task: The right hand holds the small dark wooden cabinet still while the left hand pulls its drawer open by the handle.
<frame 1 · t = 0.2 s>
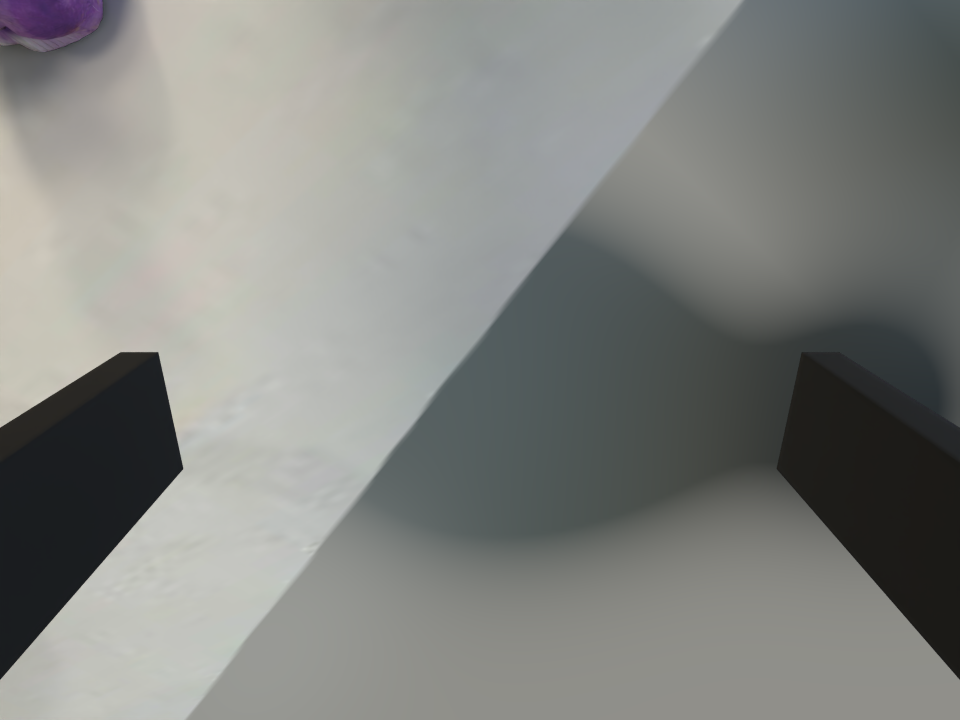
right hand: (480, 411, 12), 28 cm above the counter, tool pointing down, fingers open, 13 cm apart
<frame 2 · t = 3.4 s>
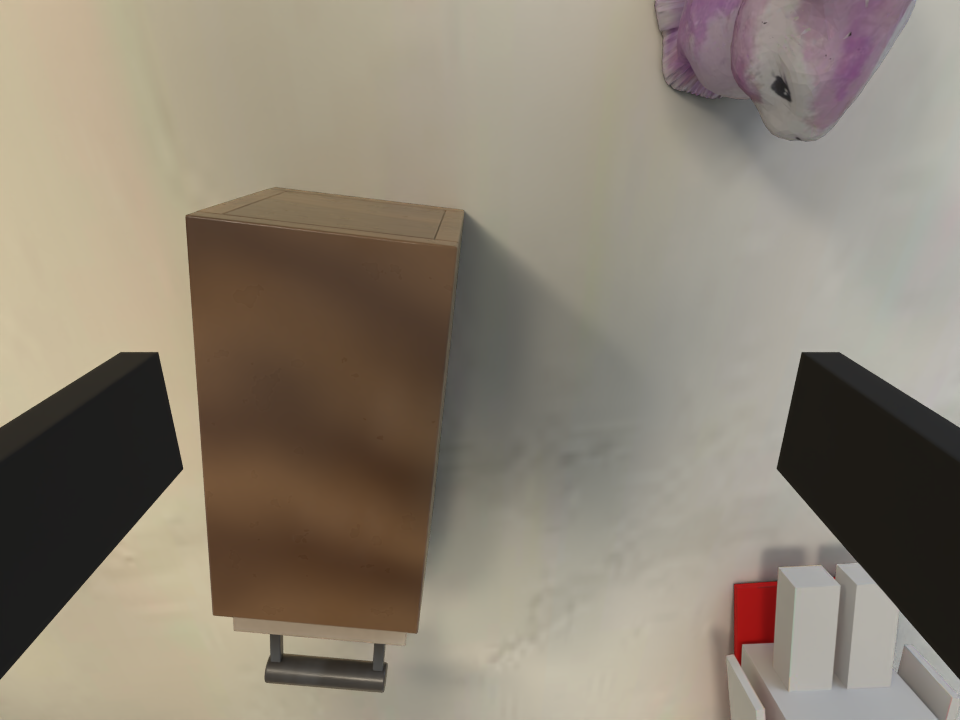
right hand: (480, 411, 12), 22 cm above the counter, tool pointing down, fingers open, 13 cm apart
toy: (776, 689, 46), on the counter
figurine: (735, 2, 28), on the counter
cabinet: (361, 367, 36), on the counter
drawer: (340, 493, 33), point 5 cm above the counter, slide at 0.8 cm
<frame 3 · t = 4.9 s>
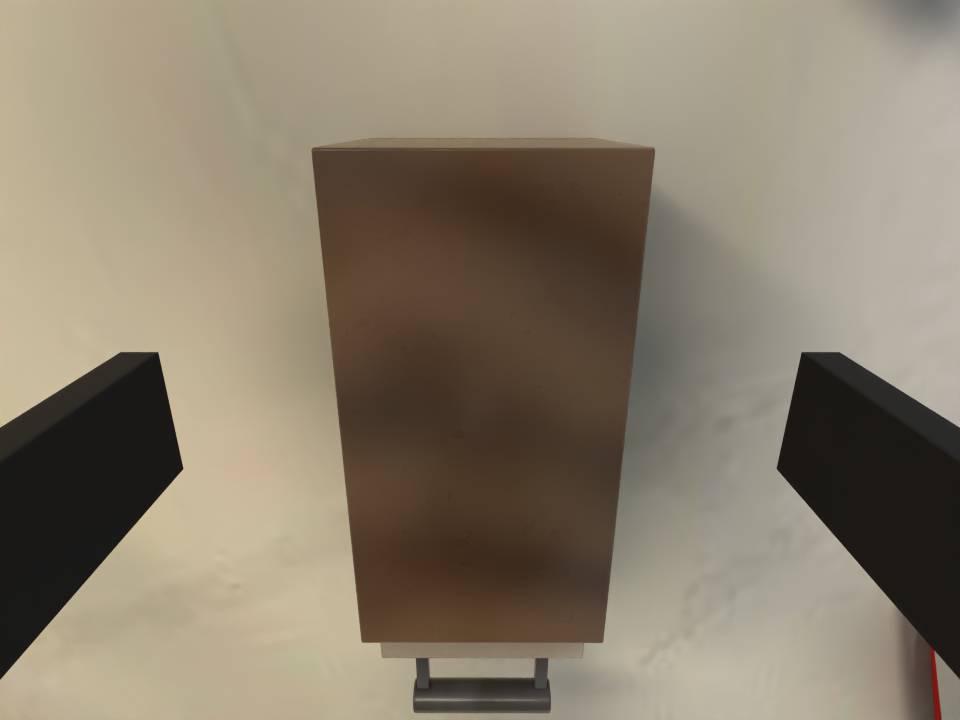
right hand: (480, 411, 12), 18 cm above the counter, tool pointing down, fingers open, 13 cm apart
cabinet: (482, 341, 31), on the counter
drawer: (482, 486, 28), point 5 cm above the counter, slide at 0.8 cm
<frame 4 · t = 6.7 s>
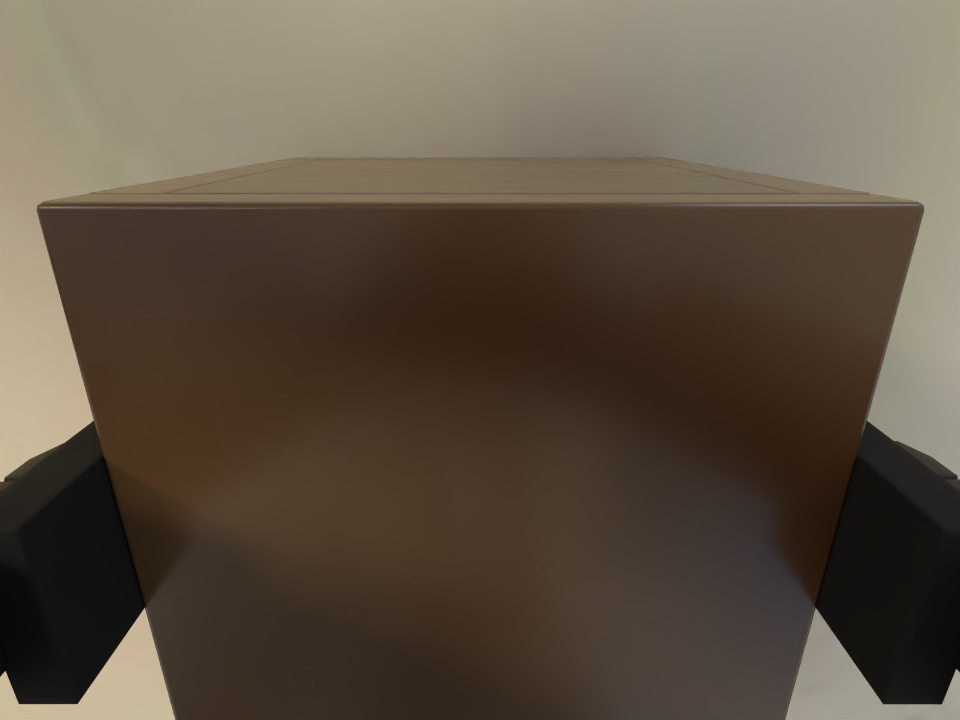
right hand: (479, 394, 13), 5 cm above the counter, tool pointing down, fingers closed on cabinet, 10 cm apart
cabinet: (479, 467, 20), on the counter, touching right hand
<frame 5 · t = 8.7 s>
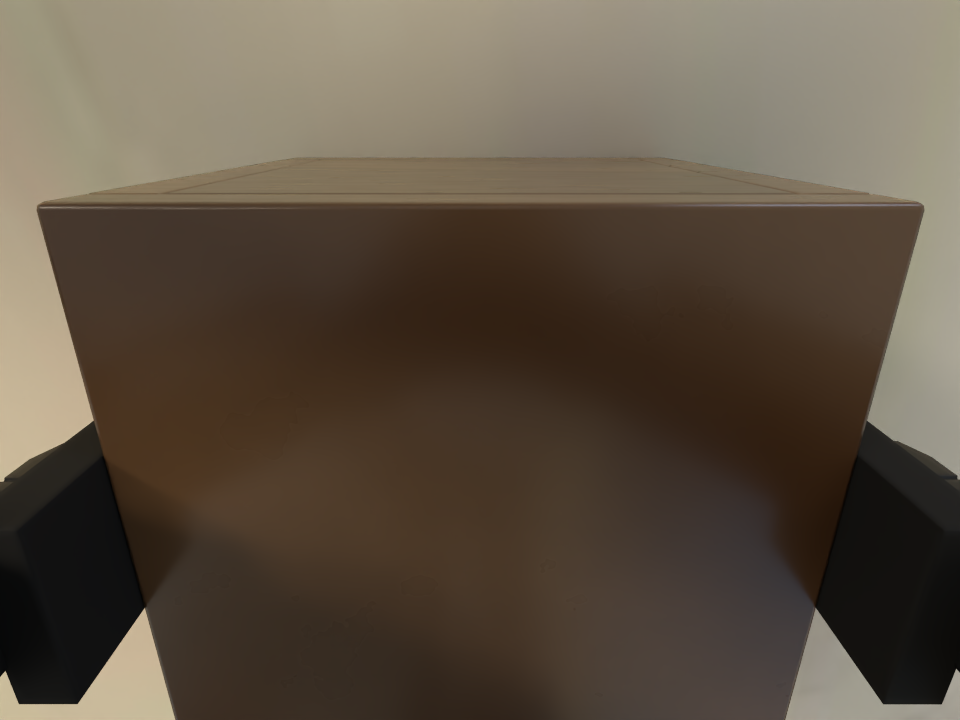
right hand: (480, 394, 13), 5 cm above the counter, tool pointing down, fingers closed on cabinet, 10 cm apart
cabinet: (479, 467, 20), on the counter, touching right hand
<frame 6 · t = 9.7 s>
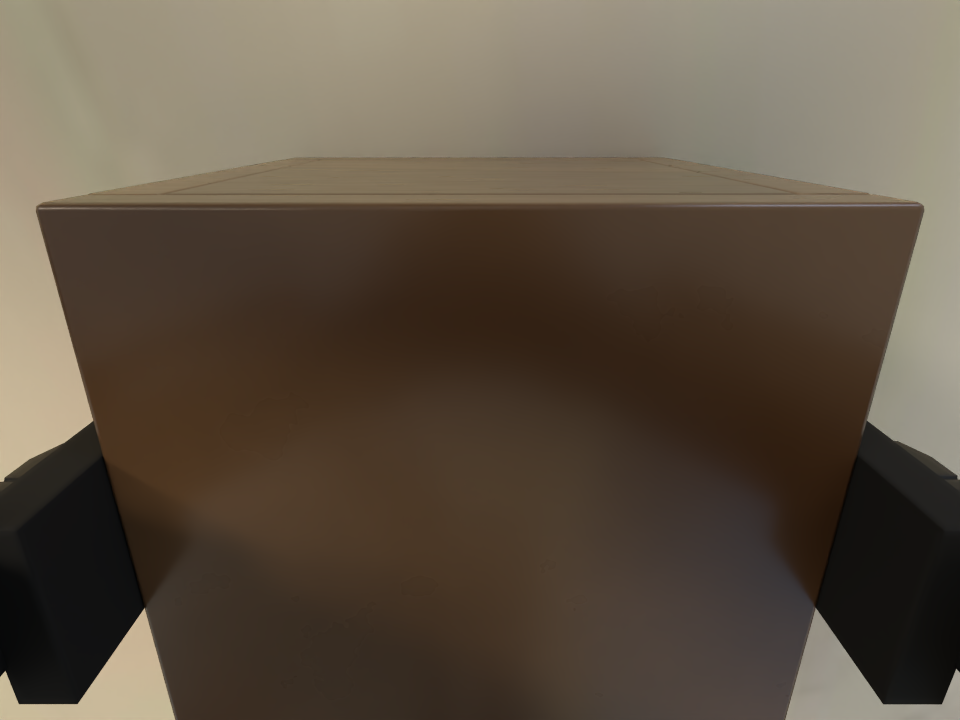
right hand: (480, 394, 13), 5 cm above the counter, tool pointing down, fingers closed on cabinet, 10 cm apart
cabinet: (479, 467, 20), on the counter, touching right hand
when the right hand's fingers open (5 cm above the counter, at t = 11.3 s): cabinet stays where it is, on the counter.
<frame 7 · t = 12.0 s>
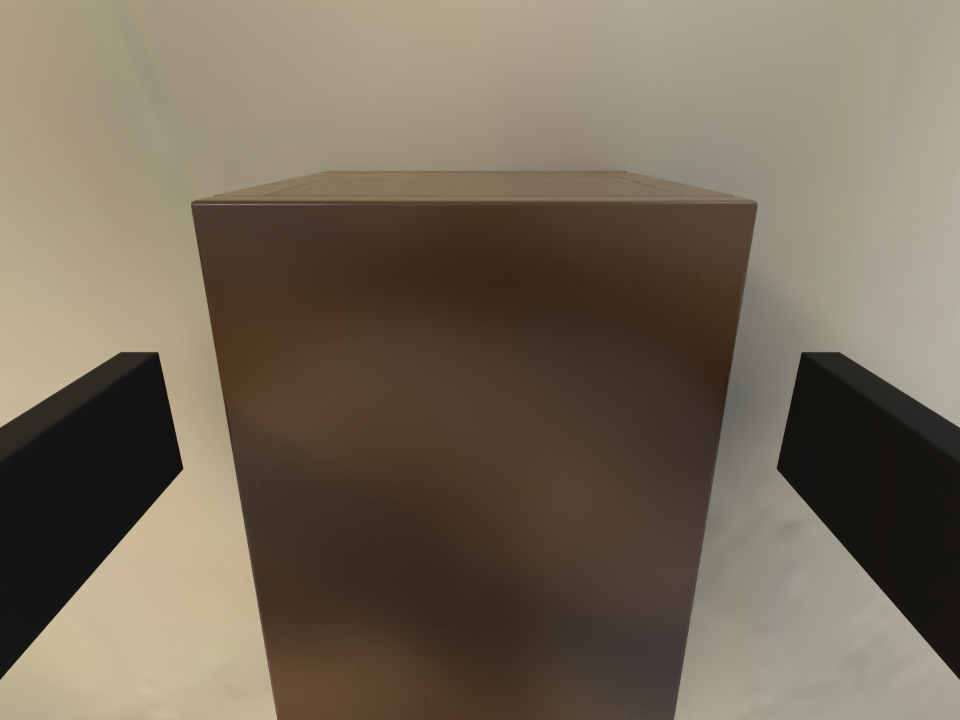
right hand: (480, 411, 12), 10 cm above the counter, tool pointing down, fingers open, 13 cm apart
cabinet: (476, 430, 24), on the counter
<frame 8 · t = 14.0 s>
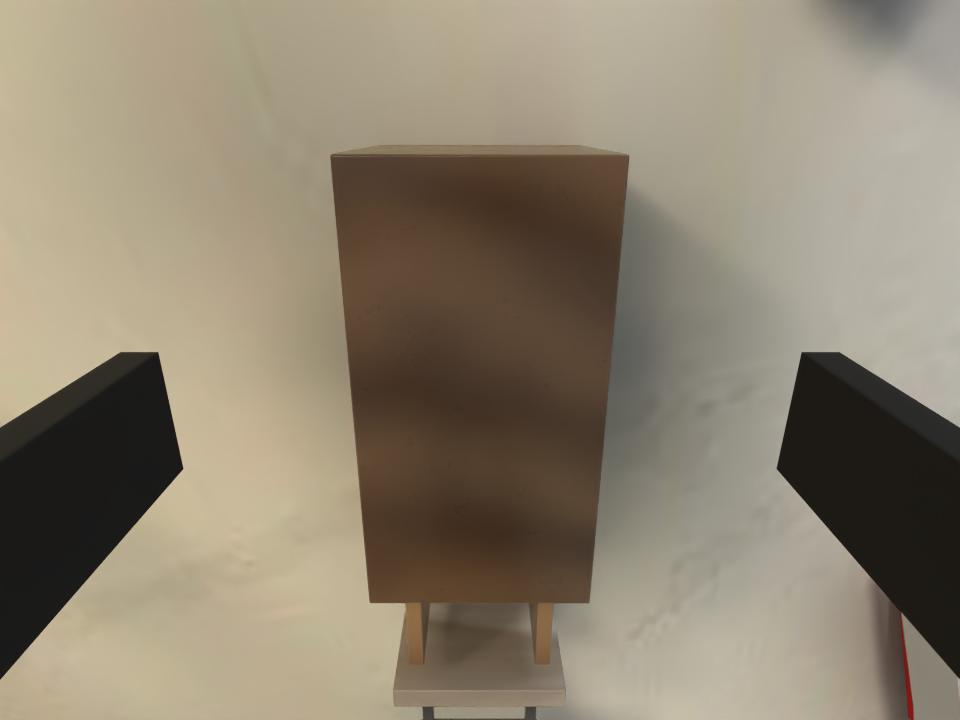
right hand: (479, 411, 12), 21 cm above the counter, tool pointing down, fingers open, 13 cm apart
toy: (944, 641, 42), on the counter
cabinet: (479, 331, 33), on the counter
drawer: (479, 557, 33), point 5 cm above the counter, slide at 6.9 cm
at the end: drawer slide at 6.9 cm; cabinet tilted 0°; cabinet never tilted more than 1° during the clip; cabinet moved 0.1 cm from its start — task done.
